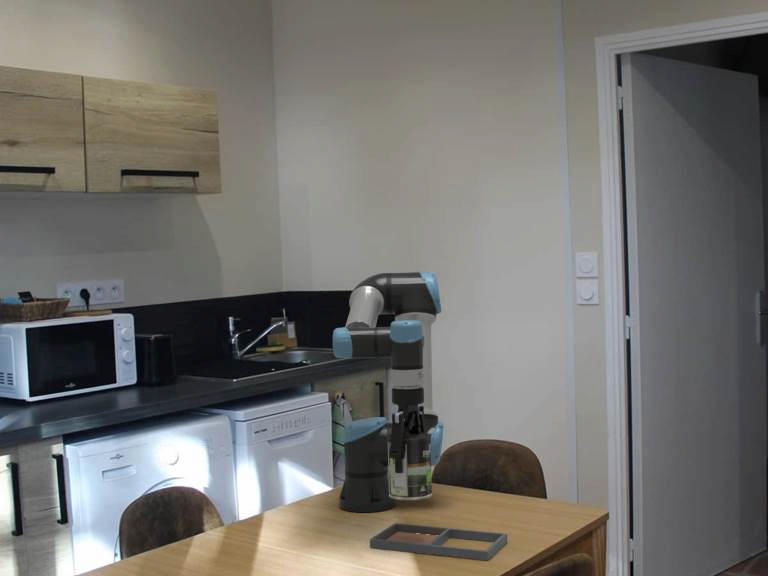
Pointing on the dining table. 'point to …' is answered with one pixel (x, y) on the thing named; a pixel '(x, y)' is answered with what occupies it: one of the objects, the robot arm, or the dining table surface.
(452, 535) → the organiser
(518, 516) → the dining table surface
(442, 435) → the robot arm
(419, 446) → the coffee can
